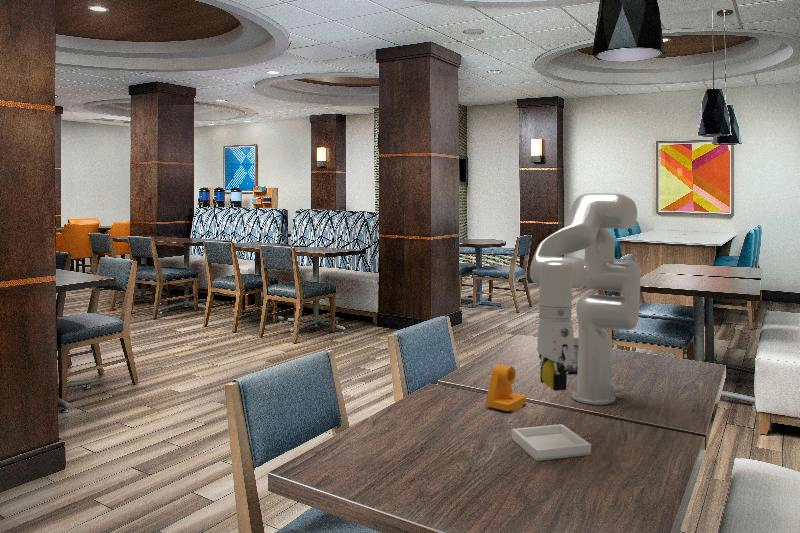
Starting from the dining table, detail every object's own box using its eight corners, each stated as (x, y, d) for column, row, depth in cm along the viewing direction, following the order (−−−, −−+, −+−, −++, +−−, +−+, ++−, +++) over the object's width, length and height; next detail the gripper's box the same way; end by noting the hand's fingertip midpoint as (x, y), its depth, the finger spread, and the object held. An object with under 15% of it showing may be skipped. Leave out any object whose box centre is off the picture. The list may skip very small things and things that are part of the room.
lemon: (538, 386, 155) (538, 355, 155) (560, 386, 156) (561, 354, 155) (545, 393, 150) (546, 360, 149) (568, 393, 150) (569, 360, 150)
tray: (561, 433, 163) (562, 424, 163) (590, 454, 150) (591, 444, 149) (511, 438, 160) (511, 429, 159) (536, 461, 146) (536, 450, 146)
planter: (557, 363, 232) (558, 335, 231) (592, 368, 224) (593, 339, 223) (544, 370, 221) (545, 341, 220) (579, 376, 214) (580, 346, 213)
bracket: (508, 414, 178) (508, 372, 176) (486, 408, 182) (486, 368, 181) (527, 404, 186) (528, 364, 184) (506, 399, 190) (506, 360, 189)
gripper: (588, 318, 143) (586, 395, 146) (551, 305, 160) (550, 375, 162) (558, 320, 142) (556, 398, 144) (524, 306, 158) (523, 377, 160)
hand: (553, 385), depth 153 cm, fingers closed on lemon, 5 cm apart
